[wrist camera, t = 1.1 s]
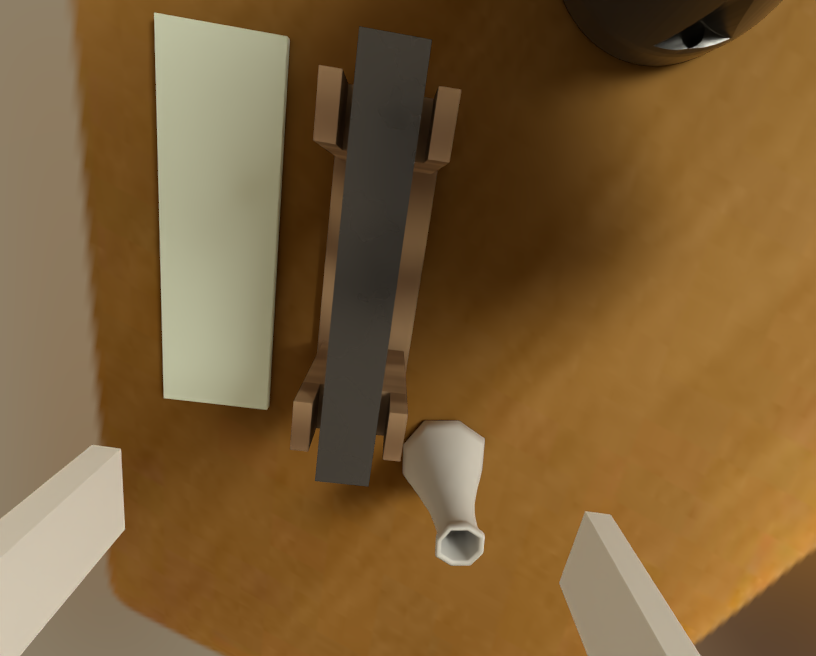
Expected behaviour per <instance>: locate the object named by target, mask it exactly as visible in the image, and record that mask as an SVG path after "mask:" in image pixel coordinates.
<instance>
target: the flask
mask: <svg viewBox="0 0 816 656" xmlns="http://www.w3.org/2000/svg"><path fill="white" fill-rule="evenodd" d="M484 443H485V439H484V438H483V437H482V436H480V435H479V434H477V433H476V432H474V431H473V430H472V429H470V428H469V427H467V426H466V425H464V424H463V423H462V422H460V421H424V422H423V423H422V424H421V425H420V426H419V427H418V428H417V430H416V431H415V432H414V433H413V434H412V435H411V436H410V438H409V439H408V440H407V441H406V442H405V443H404V444H403V475H404V476H405V478H406V479H407V481H408V482H409V483H410V485H411V486H412V487H413V489H414V490H415V491H416V493H417V494H418V495H419V497H420V498H421V500H422V501H423V503H424V505H425V506H426V508H427V509H428V511H429V512H430V514H431V516H432V519H433V522H434V524H435V527H436V530H437V535H436V547H435V555H436V557H438V558H439V559H441V560H442V561H444V562H446V563H447V564H449V565H451V566H464V565H471V564H472V563H473V562H474V561H475V560H476V559H478V558H479V557H480V556H481V555H482V554H483V550H484V539H485V536H484V533H483V531H481V530H479V529H478V527H477V523H476V519H475V505H474V503H475V498H476V493H477V488H478V484H479V480H480V476H481V472H482V466H483V455H484Z"/></svg>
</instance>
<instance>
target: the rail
mask: <svg viewBox="0 0 816 656" xmlns="http://www.w3.org/2000/svg"><path fill="white" fill-rule="evenodd" d="M431 43H432V40H431V39H425V38H420V37H415V36H409V35H404V34H398V33H393V32H387V31H382V30H376V29H371V28H365V27H360V26H359V35H358V45H357V56H356V66H355V76H354V86H353V97H352V107H351V117H350V127H349V138H348V148H347V158H346V168H345V179H344V189H343V199H342V210H341V220H340V230H339V240H338V251H337V261H336V271H335V281H334V292H333V302H332V312H331V322H330V333H329V343H328V353H327V363H326V374H325V384H324V394H323V405H322V415H321V425H320V435H319V446H318V456H317V466H316V476H315V481H320V482H330V483H340V484H349V485H359V486H369V480H370V473H371V466H372V458H373V451H374V444H375V437H376V430H377V423H378V416H379V409H380V402H381V395H382V388H383V381H384V374H385V367H386V360H387V353H388V346H389V339H390V332H391V325H392V318H393V311H394V304H395V297H396V289H397V282H398V275H399V268H400V261H401V254H402V247H403V240H404V233H405V226H406V219H407V212H408V205H409V198H410V191H411V184H412V177H413V170H414V163H415V156H416V149H417V142H418V135H419V128H420V120H421V113H422V106H423V99H424V92H425V85H426V78H427V71H428V64H429V57H430V50H431Z"/></svg>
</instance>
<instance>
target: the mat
mask: <svg viewBox="0 0 816 656" xmlns="http://www.w3.org/2000/svg"><path fill="white" fill-rule="evenodd" d="M154 28H155V68H156V108H157V148H158V188H159V228H160V267H161V307H162V347H163V387H164V398H168V399H177V400H186V401H194V402H203V403H212V404H220V405H229V406H238V407H247V408H255V409H264V410H267V409H268V407H269V401H270V383H271V365H272V348H273V330H274V312H275V294H276V277H277V259H278V241H279V223H280V206H281V188H282V170H283V152H284V135H285V117H286V99H287V81H288V64H289V46H290V39H289V38H288V36H282V35H277V34H271V33H266V32H260V31H255V30H249V29H243V28H238V27H232V26H227V25H221V24H215V23H210V22H204V21H199V20H193V19H188V18H182V17H176V16H171V15H165V14H160V13H154Z"/></svg>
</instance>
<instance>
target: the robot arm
mask: <svg viewBox="0 0 816 656" xmlns="http://www.w3.org/2000/svg"><path fill="white" fill-rule="evenodd" d="M781 1H782V0H564V3H565V5H566V7H567V9H568V11H569V13H570V14H571V16H572V18H573V19H574V21H575V22H576V24H577V25H578V26H579V28H580V29H581V30H582V31H583V33H584V34H585V35H586V36H587V37H588V38H589V39H590V40H591V41H592V42H593V43H595V44H596V45H597V46H598V47H599V48H601V49H602V50H604V51H605V52H607V53H609V54H610V55H612V56H614V57H616V58H619V59H621V60H624V61H627V62H630V63H634V64H639V65H647V66H664V65H672V64H677V63H681V62H685V61H688V60H691V59H694V58H696V57H699V56H701V55H703V54H705V53H707V52H710V51H712V50H714V49H716V48H718V47H720V46H722V45H725V44H726V43H728V42H730V41H732V40H734V39H736V38H737V37H739V36H740V35H742V34H743V33H745V32H746V31H748V30H749V29H751V28H752V27H753V26H755V25H756V24H757V23H759V22H760V21H761V20H762V19H763V18H765V17H766V16H767V15H768V14H769V13H770V12H771V11H772V10H773V9H774V8H775V7H776V6H777V5H778V4H779V3H780V2H781ZM124 530H125V520H124V500H123V480H122V460H121V449H120V448H112V447H105V446H98V445H91V446H90V447H89V448H87V449H86V450H85V451H84V452H83V453H81V454H80V455H79V456H78V457H76V458H75V459H74V460H72V461H71V462H70V463H69V464H68V465H66V466H65V467H64V468H63V469H61V470H60V471H59V472H58V473H56V474H55V475H54V476H53V477H51V478H50V479H49V480H48V481H46V482H45V483H44V484H43V485H42V486H40V487H39V488H38V489H37V490H36V491H34V492H33V493H32V494H30V495H29V496H28V497H27V498H25V499H24V500H23V501H22V502H21V503H19V504H18V505H17V506H16V507H14V508H13V509H12V510H11V511H9V512H8V513H7V514H6V515H4V516H3V517H2V518H1V519H0V656H20V655H21V654H22V653H23V651H24V650H25V649H26V648H27V647H28V645H29V644H30V643H31V642H32V641H33V639H34V638H35V637H36V636H37V634H38V633H39V632H40V631H41V630H42V628H43V627H44V626H45V625H46V623H47V622H48V621H49V620H50V619H51V618H52V616H53V615H54V614H55V613H56V612H57V610H58V609H59V608H60V607H61V605H62V604H63V603H64V602H65V601H66V599H67V598H68V597H69V596H70V595H71V593H72V592H73V591H74V590H75V589H76V587H77V586H78V585H79V584H80V583H81V581H82V580H83V579H84V578H85V577H86V575H87V574H88V573H89V572H90V571H91V569H92V568H93V567H94V566H95V565H96V563H97V562H98V561H99V560H100V559H101V557H102V556H103V555H104V554H105V553H106V551H107V550H108V549H109V548H110V546H111V545H112V544H113V543H114V542H115V540H116V539H117V538H118V537H119V536H120V534H121V533H122V532H123V531H124ZM559 584H560V586H561V589H562V591H563V594H564V596H565V599H566V601H567V604H568V607H569V609H570V612H571V614H572V617H573V619H574V622H575V624H576V627H577V629H578V632H579V634H580V637H581V640H582V642H583V645H584V647H585V650H586V652H587V655H588V656H700V654H699V653H698V651H697V650H696V648H695V646H694V645H693V643H692V642H691V640H690V639H689V637H688V635H687V634H686V632H685V631H684V629H683V628H682V626H681V624H680V623H679V621H678V620H677V618H676V617H675V615H674V613H673V612H672V610H671V609H670V607H669V606H668V604H667V602H666V601H665V599H664V598H663V596H662V595H661V593H660V591H659V590H658V588H657V587H656V585H655V584H654V582H653V580H652V579H651V577H650V576H649V574H648V573H647V571H646V569H645V568H644V566H643V565H642V563H641V562H640V560H639V558H638V557H637V555H636V554H635V552H634V551H633V549H632V547H631V546H630V544H629V543H628V541H627V540H626V538H625V536H624V535H623V533H622V532H621V530H620V529H619V527H618V525H617V524H616V522H615V521H614V519H613V518H612V516H611V515H609V514H602V513H594V512H587V511H585V514H584V516H583V519H582V522H581V525H580V527H579V530H578V533H577V536H576V538H575V541H574V544H573V547H572V549H571V552H570V555H569V558H568V560H567V563H566V566H565V568H564V571H563V574H562V577H561V579H560V582H559Z"/></svg>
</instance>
